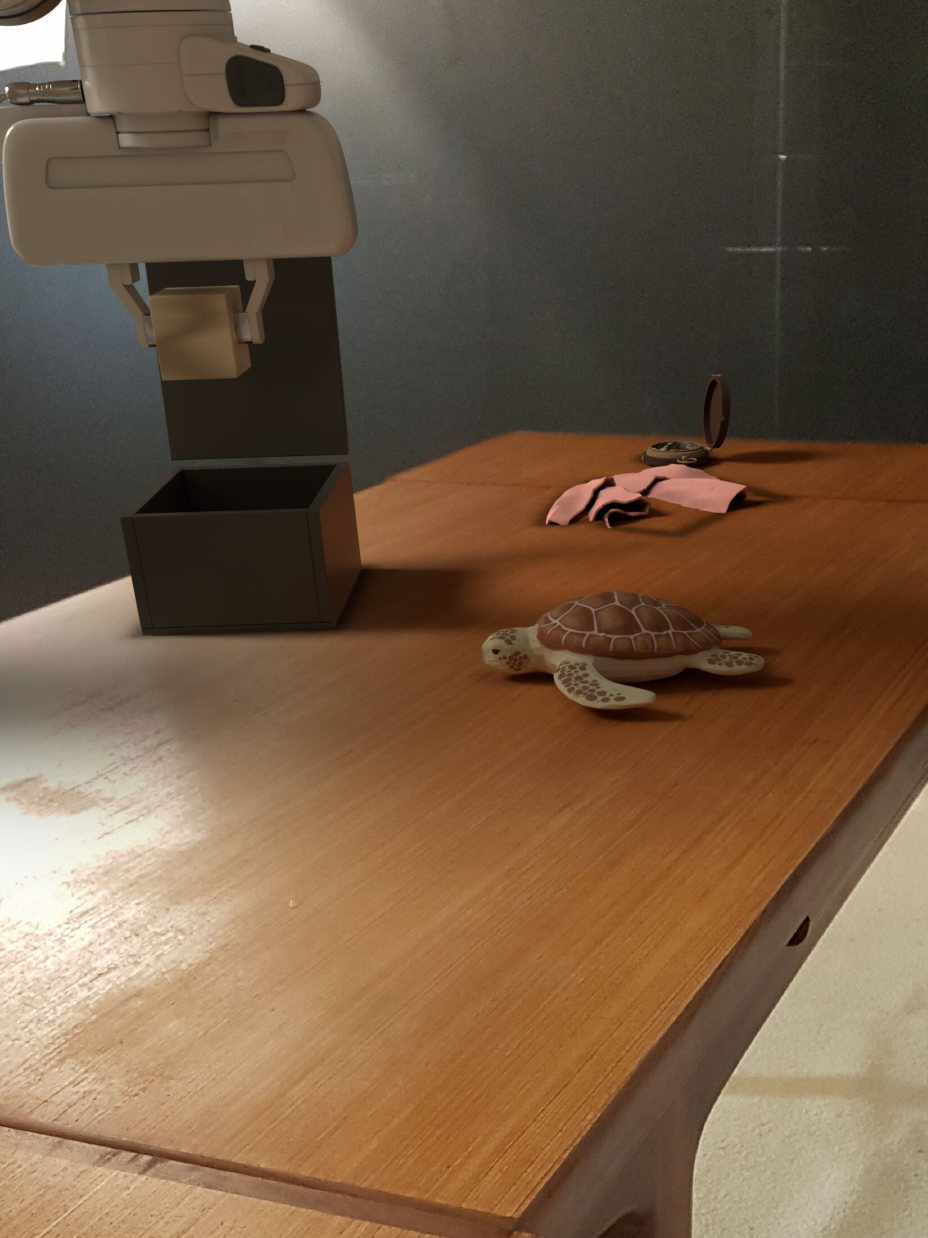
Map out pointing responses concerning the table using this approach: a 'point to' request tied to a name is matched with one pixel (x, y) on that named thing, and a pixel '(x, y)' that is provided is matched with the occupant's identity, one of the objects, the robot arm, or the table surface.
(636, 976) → the table surface
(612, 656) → the decorative turtle
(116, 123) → the robot arm
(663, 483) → the cloth
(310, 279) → the box lid
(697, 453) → the compass
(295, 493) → the box
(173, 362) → the block
